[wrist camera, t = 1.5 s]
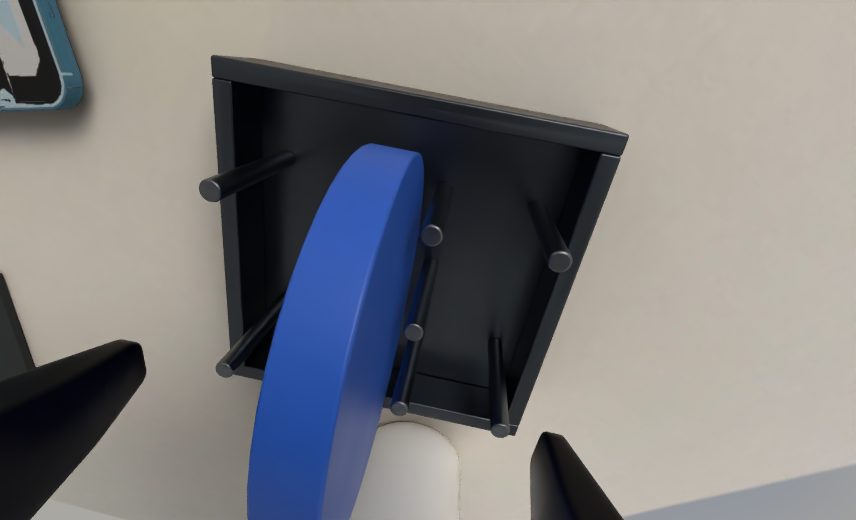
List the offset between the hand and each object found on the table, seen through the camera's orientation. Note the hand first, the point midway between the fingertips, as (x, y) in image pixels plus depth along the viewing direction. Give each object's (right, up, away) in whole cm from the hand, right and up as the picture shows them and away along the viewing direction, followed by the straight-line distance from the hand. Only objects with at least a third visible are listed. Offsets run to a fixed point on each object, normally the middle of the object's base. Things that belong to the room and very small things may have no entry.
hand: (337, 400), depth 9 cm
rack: (+1, +3, +7) cm, 8 cm away
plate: (+1, +3, +7) cm, 7 cm away
